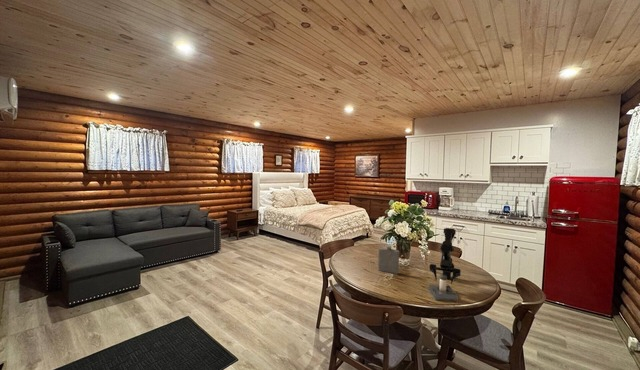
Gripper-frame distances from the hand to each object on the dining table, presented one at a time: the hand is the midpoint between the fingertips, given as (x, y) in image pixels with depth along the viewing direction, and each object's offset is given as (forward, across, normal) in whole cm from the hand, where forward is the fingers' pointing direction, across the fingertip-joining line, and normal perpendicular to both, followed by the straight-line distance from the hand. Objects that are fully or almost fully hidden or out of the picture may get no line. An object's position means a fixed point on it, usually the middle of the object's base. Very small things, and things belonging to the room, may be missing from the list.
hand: (443, 282), depth 173 cm
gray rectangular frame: (+8, 0, +2) cm, 9 cm away
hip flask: (-6, -41, +17) cm, 45 cm away
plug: (+8, 0, +2) cm, 9 cm away
